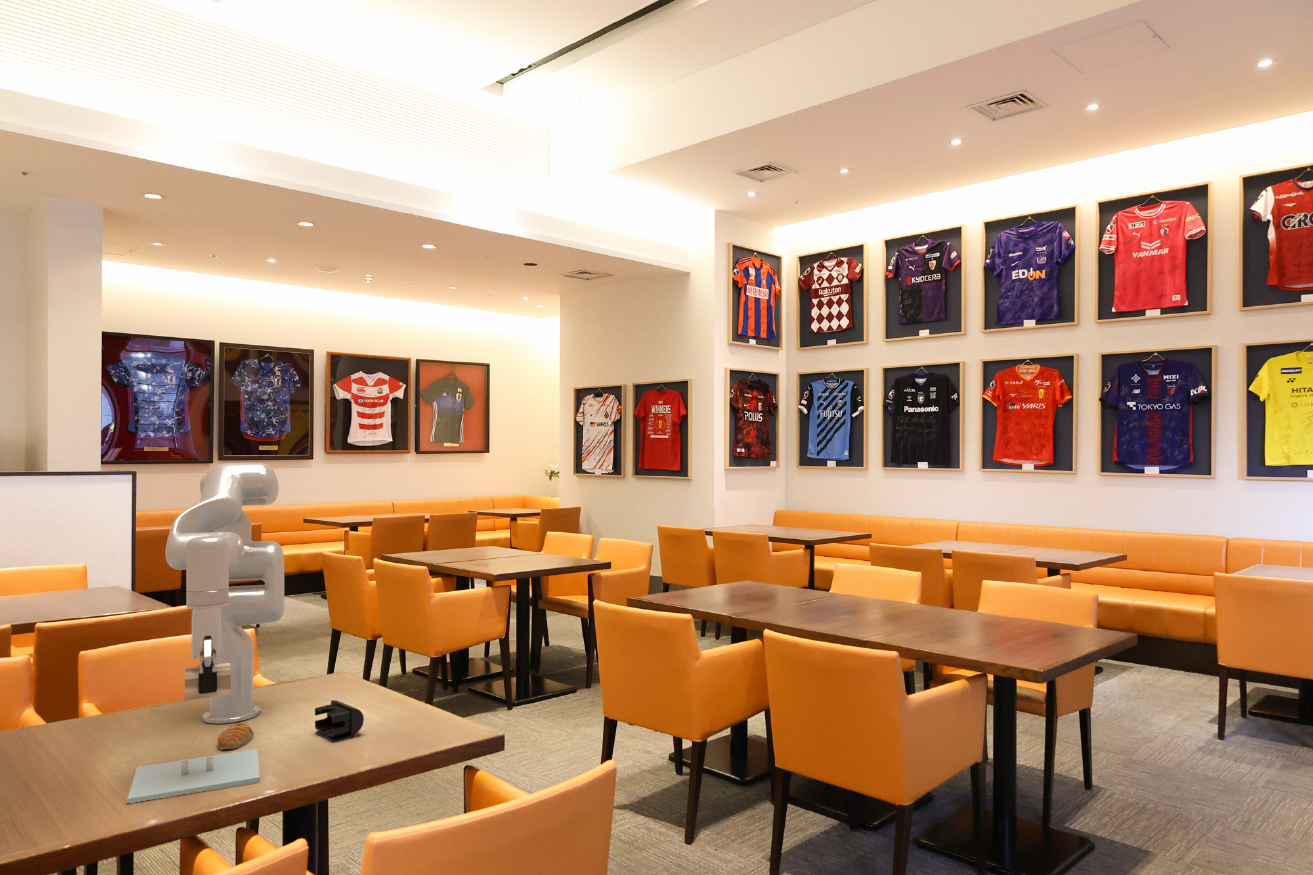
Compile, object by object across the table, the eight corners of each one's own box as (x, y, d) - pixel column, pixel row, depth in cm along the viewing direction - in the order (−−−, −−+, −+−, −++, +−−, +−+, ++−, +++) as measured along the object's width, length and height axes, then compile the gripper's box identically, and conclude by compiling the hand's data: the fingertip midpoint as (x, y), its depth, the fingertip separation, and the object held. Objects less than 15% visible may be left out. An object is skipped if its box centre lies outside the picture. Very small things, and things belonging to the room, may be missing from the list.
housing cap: (185, 692, 170) (185, 667, 170) (230, 687, 173) (230, 662, 173) (184, 700, 164) (184, 674, 164) (230, 694, 168) (230, 669, 168)
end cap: (364, 735, 192) (364, 705, 192) (334, 743, 187) (334, 712, 187) (343, 726, 199) (343, 697, 199) (314, 733, 194) (313, 704, 194)
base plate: (137, 771, 171) (137, 754, 171) (257, 753, 181) (257, 737, 181) (127, 804, 155) (127, 785, 155) (259, 782, 165) (259, 764, 165)
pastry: (244, 751, 183) (244, 733, 183) (210, 753, 182) (210, 736, 182) (255, 736, 192) (255, 720, 192) (223, 739, 191) (223, 722, 191)
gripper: (187, 593, 175) (187, 680, 175) (185, 606, 160) (185, 702, 159) (228, 590, 178) (228, 676, 178) (229, 603, 163) (229, 696, 163)
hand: (207, 687), depth 169 cm, fingers closed on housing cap, 6 cm apart
